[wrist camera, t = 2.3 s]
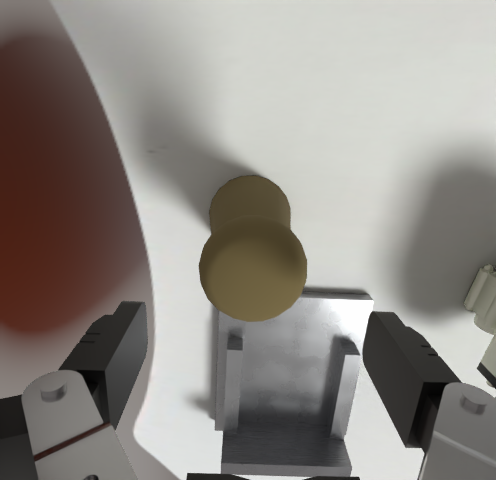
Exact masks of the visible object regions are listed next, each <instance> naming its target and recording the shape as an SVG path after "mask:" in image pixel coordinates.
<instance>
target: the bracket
mask: <svg viewBox="0 0 496 480" xmlns="http://www.w3.org/2000/svg"><path fill="white" fill-rule="evenodd" d="M372 306H373V299H372V298H371V297H370V295H366V294H345V293H324V292H303V291H302V293H301V296H300V297H299V298H298V299H297V300H296V302H295V303H294V304H293V305H292V307H291V308H289V309H288V310H286V311H285V312H283V313H282V314H280V315H279V316H277V317H274V318H271V319H268V320H265V321H258V322H246V321H242V320H238V319H234V318H232V317H230V316H228V315H226V314H224V313H223V312H221V311H219V324H218V352H217V381H216V410H215V430H216V431H223V444H222V459H221V474H236V475H267V476H299V477H315V476H340V477H350V475H351V470H352V466H351V462H350V459H349V456H348V453H347V449H346V446H345V443H344V435H346V431H347V426H348V422H349V417H350V412H351V407H352V402H353V398H354V393H355V388H356V383H357V378H358V373H359V369H360V364H361V359H362V349H363V343H364V338H365V333H366V328H367V323H368V318H369V314H370V313H371V311H372Z"/></svg>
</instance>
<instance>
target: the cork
mask: <svg viewBox="0 0 496 480" xmlns="http://www.w3.org/2000/svg"><path fill="white" fill-rule="evenodd" d="M209 215H210V226H211V236H210V238H209V239H208V241H207V242H206V244H205V245H204V248H203V251H202V254H201V258H200V262H199V273H200V281H201V285H202V287H203V289H204V292H205V294H206V296H207V298H208V300H209V301H210V302H211V303H212V304H213V305H214V306H215V307H216V308H217V309H218V310H219V311H221V312H223V313H224V314H226V315H228V316H230V317H232V318H234V319H238V320H242V321H246V322H258V321H265V320H268V319H271V318H274V317H277V316H279V315H280V314H282V313H283V312H285V311H286V310H288V309H289V308H291V307H292V305H293V304H294V303H295V302H296V300H297V299H298V298H299V297H300V296H301V293H302V291H303V288H304V285H305V283H306V278H307V259H306V256H305V253H304V250H303V247H302V245H301V243H300V241H299V240H298V238H297V237H296V236H295V235H294V233H293V232H292V231H291V230H290V206H289V203H288V200H287V197H286V195H285V194H284V193H283V191H282V190H281V189H280V188H279V186H277V185H276V184H274V183H273V182H271V181H270V180H268V179H266V178H262V177H259V176H241V177H238V178H235V179H233V180H230V181H228V182H227V183H226V184H225V185H223V186H222V187H221V188H220V189H219V190H218V192H217V193H216V195H215V196H214V198H213V199H212V203H211V207H210V211H209Z"/></svg>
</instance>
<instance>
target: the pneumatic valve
mask: <svg viewBox="0 0 496 480" xmlns="http://www.w3.org/2000/svg"><path fill="white" fill-rule="evenodd" d="M493 269H494V268H493V267H492V265H489V264H488V265H485V266H484V268H480V269H479V272H478V274H477V276H476V278H475V280H474V282H473V284H472V286H471V289H470V291H469V293H468V295H467V297H466V299H465V301H464V304H465V305H466V306H465V308H466V309H467V310H469V311H474V312H476V315H475V317H474V323H475V325H476V326H477V327H479V328H480V329H482V330H483V331H485V332H487V333H490V334H492V335H494V337H493V339H492V340H491V342H490V344H489V346H488V348H487V350H486V352H485V354H484V356H483V358H482V360H481V362H480V363H479V365H478V367H477V369H478V370H479V371H480V373H481V374H482V375H483V376H484V377H485V378H486V379H487V381H486V383H487V384H488V385H489V386H491V387H494V388H495V389H496V272H495V271H493ZM495 399H496V397H495Z"/></svg>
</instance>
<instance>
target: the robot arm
mask: <svg viewBox="0 0 496 480" xmlns="http://www.w3.org/2000/svg"><path fill="white" fill-rule="evenodd" d="M147 338H148V337H147V317H146V305H145V302H134V301H122V302H121V303H120V305H119V306H118V308H117V309H116V311H115V312H114V314H113V315H104V316H102V317H101V318H99V319H98V320H96V321H95V322H93V323H92V325H91V326H90V327H89V329H88V330H87V331H86V334H85V335H84V336H83V337H82V338H81V340H80V342H79V343H78V344H77V345H76V347H75V348H74V349H73V350H72V352H71V353H70V355H69V356H68V357H67V359H66V360H65V361H64V363H63V364H62V366H61V367H60V368H59V370H58V371H54V372H50V373H48V374H45V375H43V376H41V377H39V378H37V379H35V380H34V381H33V382H32V383H30V384H29V385H28V386H27V387H26V389H25V390H24V392H23V394H22V395H18V396H13V397H9V398H3V399H0V480H138V478H137V476H136V474H135V472H134V470H133V468H132V466H131V463H130V461H129V459H128V457H127V455H126V453H125V451H124V449H123V447H122V445H121V443H120V440H119V438H118V436H117V434H116V432H115V430H116V428H117V425H118V423H119V420H120V418H121V415H122V413H123V410H124V408H125V405H126V403H127V401H128V398H129V395H130V393H131V391H132V388H133V386H134V384H135V381H136V379H137V376H138V374H139V371H140V369H141V366H142V364H143V361H144V359H145V356H146V352H147V344H148V339H147ZM362 357H363V362H364V366H365V368H366V370H367V372H368V374H369V376H370V378H371V380H372V382H373V384H374V386H375V388H376V390H377V392H378V394H379V396H380V398H381V400H382V402H383V404H384V406H385V408H386V410H387V412H388V414H389V416H390V418H391V420H392V422H393V424H394V426H395V428H396V430H397V432H398V434H399V436H400V438H401V440H402V442H403V443H404V445H405V447H406V448H422V450H423V452H424V453H425V454H424V457H423V460H422V464H421V468H420V471H419V475H418V479H417V480H496V399H495V398H494V397H493V396H491V395H490V394H488V393H487V392H485V391H484V390H482V389H480V388H478V387H475V386H472V385H469V384H466V383H462V382H461V381H460V380H459V378H458V377H457V376H456V375H455V374H454V373H453V371H452V370H451V369H450V368H449V367H448V365H447V364H446V363H445V362H444V361H443V359H442V358H441V357H440V356H438V354H437V352H436V351H435V350H434V349H433V348H431V345H430V344H429V343H428V342H427V340H426V339H425V338H424V337H423V336H422V335H421V334H419V333H418V332H416V331H415V330H413V329H412V328H410V327H406V326H405V325H404V324H403V323H402V321H401V320H400V319H399V318H398V316H397V315H396V314H395V313H394V312H377V311H372V312H371V313H370V314H369V318H368V323H367V328H366V333H365V338H364V343H363V349H362ZM186 480H249V479H246V478H242V477H239V476H235V475H232V474H204V473H187V479H186ZM304 480H360V478H359V477H340V476H315V477H312V478H308V479H304Z"/></svg>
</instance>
